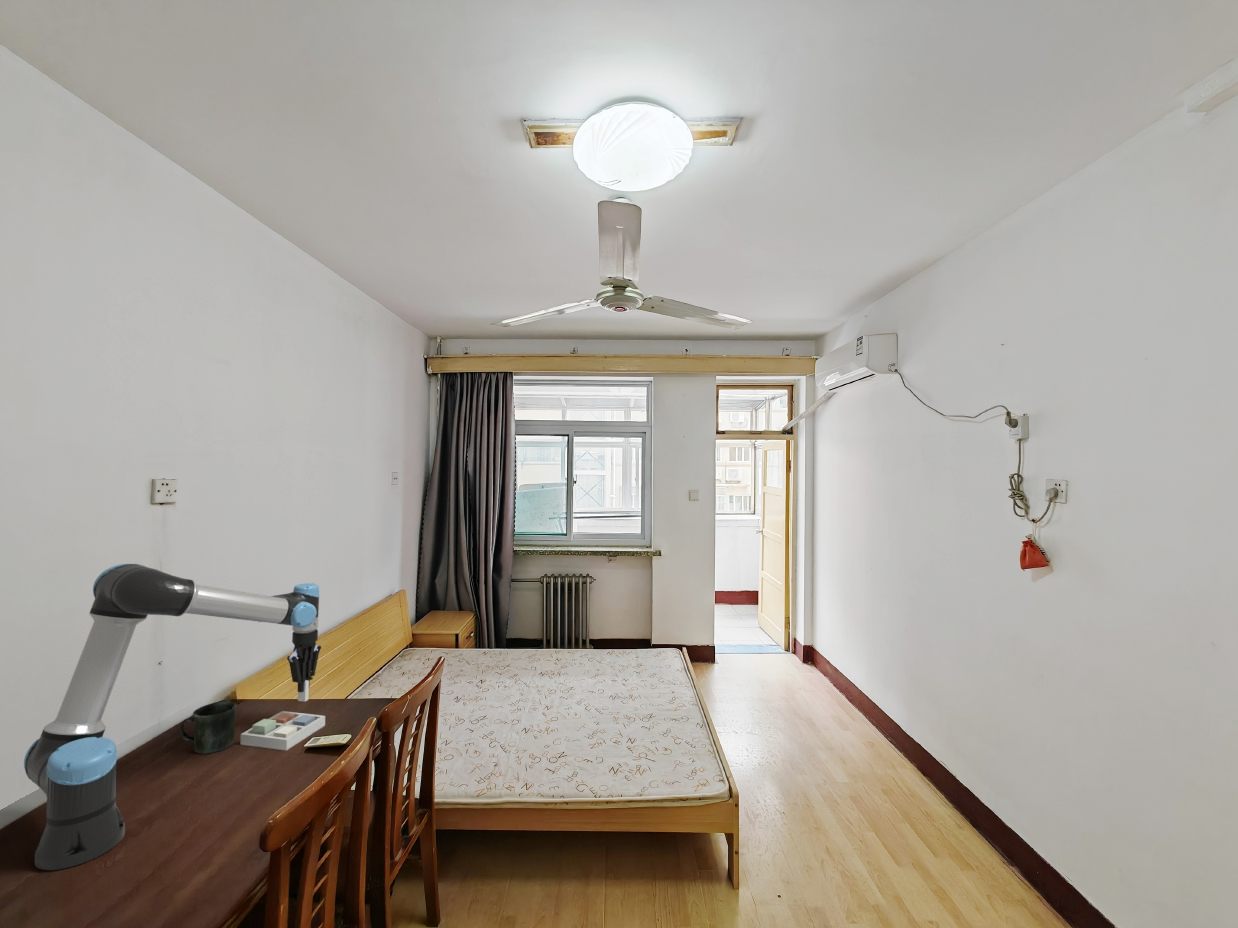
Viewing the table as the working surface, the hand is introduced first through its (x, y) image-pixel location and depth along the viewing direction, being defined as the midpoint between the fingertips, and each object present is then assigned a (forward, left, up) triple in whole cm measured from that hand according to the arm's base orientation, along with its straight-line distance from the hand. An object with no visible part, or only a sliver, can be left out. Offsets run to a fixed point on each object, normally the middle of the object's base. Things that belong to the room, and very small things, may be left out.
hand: (303, 700), depth 186 cm
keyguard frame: (-4, +4, -10) cm, 12 cm away
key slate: (0, 0, -10) cm, 9 cm away
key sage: (-8, +8, -8) cm, 14 cm away
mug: (-16, +21, -11) cm, 28 cm away
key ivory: (-8, 0, -10) cm, 12 cm away
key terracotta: (0, +8, -9) cm, 12 cm away
